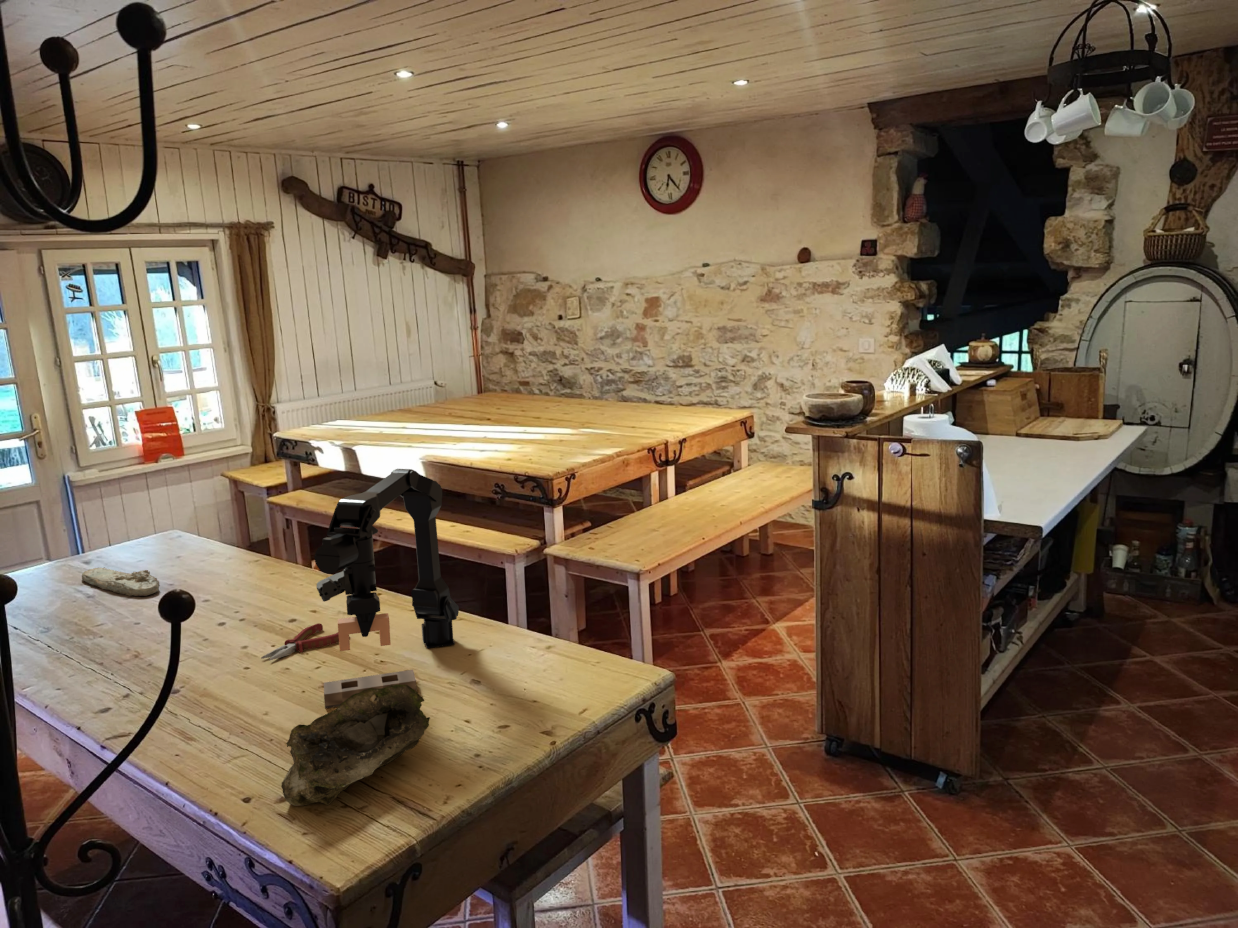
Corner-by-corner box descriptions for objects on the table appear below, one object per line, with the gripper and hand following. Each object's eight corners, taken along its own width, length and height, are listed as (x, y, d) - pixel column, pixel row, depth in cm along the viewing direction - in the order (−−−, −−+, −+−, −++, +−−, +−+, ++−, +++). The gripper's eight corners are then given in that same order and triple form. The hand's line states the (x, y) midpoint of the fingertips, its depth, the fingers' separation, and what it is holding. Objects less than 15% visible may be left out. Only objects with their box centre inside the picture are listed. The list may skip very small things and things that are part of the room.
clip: (389, 640, 187) (388, 612, 186) (390, 645, 184) (389, 617, 183) (339, 646, 184) (337, 618, 183) (339, 652, 181) (337, 623, 180)
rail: (413, 682, 190) (413, 669, 190) (416, 694, 185) (416, 680, 184) (324, 696, 185) (323, 682, 184) (325, 708, 179) (323, 694, 179)
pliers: (249, 659, 206) (248, 648, 206) (319, 630, 223) (318, 620, 223) (282, 668, 201) (281, 657, 200) (351, 639, 217) (351, 628, 217)
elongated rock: (107, 577, 275) (73, 588, 267) (103, 561, 274) (69, 571, 266) (171, 589, 256) (137, 601, 248) (168, 571, 255) (133, 583, 247)
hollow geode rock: (422, 766, 166) (383, 696, 170) (454, 735, 159) (413, 663, 163) (284, 834, 144) (245, 752, 148) (314, 801, 137) (272, 716, 141)
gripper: (317, 552, 187) (323, 623, 190) (316, 576, 169) (323, 655, 172) (372, 546, 190) (377, 617, 193) (377, 570, 173) (382, 647, 176)
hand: (364, 633), depth 183 cm, fingers closed on clip, 3 cm apart
